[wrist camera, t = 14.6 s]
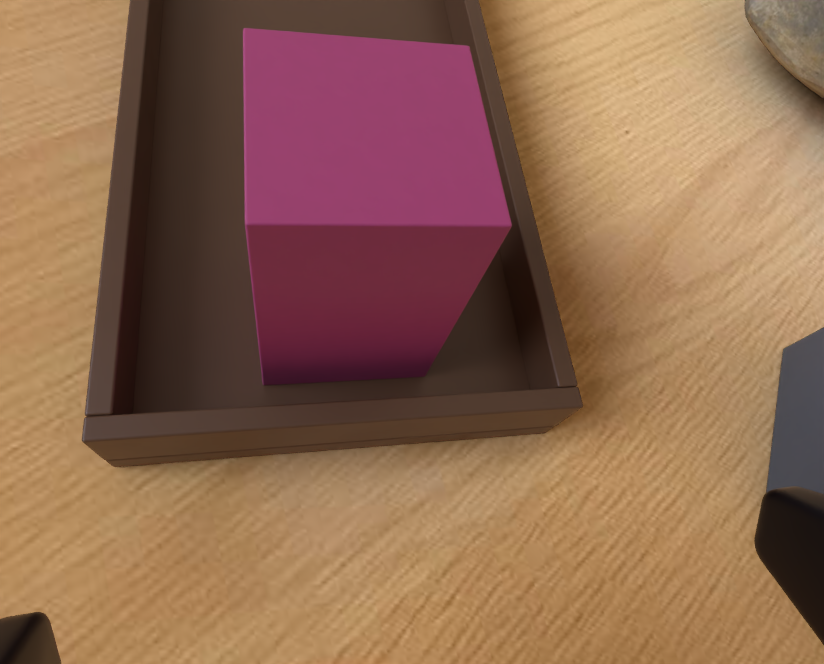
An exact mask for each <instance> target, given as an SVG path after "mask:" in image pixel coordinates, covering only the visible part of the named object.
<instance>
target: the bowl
mask: <svg viewBox="0 0 824 664" xmlns="http://www.w3.org/2000/svg"><path fill="white" fill-rule="evenodd" d="M745 14H746V18H747V20H748V22H749V23H750V25H751V27H752V28H753V30H754V31H755V32H756V34H757V35H758V37H759V38H760V40H761V41H762V43H763V44H764V45H765V47H766V48H767V49H768V50H769V52H770V53H771V54H772V55H773V57H774V58H775V59H776V60H777V61H778V62H779V63H780V64H781V65H782V66H783V67H784V68H785V69H786V70H787V71H788V72H790V73H791V74H792V75H793V76H794V77H795V78H797V79H798V80H799V81H800V82H802V83H803V84H804V85H805V86H807V87H808V88H809V89H810V90H812V91H814V92H815V93H816V94H818V95H819V96H820V97H822V98H824V0H745Z"/></svg>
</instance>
